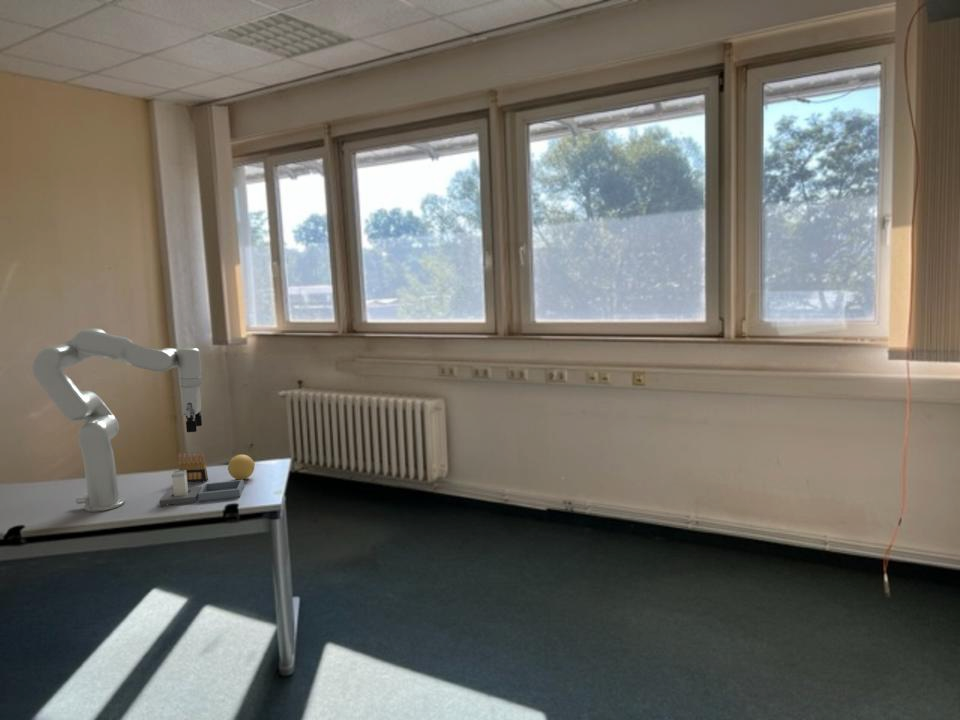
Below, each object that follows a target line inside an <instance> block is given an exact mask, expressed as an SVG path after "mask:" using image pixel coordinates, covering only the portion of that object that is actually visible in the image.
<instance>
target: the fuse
mask: <svg viewBox="0 0 960 720" xmlns="http://www.w3.org/2000/svg"><path fill="white" fill-rule="evenodd" d="M186 473H187V472H186V470H182V471H179V470H174V471H173V472H172V474H171V478H172V480H171V481H172V488H173V489H172V490H174V496H182V495H188V494H189V493H188V488H189V486H188V483H187V474H186Z"/></svg>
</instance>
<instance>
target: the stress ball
mask: <svg viewBox="0 0 960 720" xmlns="http://www.w3.org/2000/svg"><path fill="white" fill-rule="evenodd" d="M227 471H228V473H229V475H230V476H231V477H232V478H233V479H234V480H235V479H236V480H243V479H245V480H246V479H248V478H249V477H251V476H252V474H253V472H254V471H255V460H253V459H252V457H250V455H248V454H237V455H235V456H234V457H232V458H231V459H230V460H229V462H228V464H227Z"/></svg>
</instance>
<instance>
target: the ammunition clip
mask: <svg viewBox="0 0 960 720" xmlns="http://www.w3.org/2000/svg"><path fill="white" fill-rule="evenodd" d="M181 454H182V453H181V452H178V471H182V470H186V472H187V473H186V474H187V483H204V482H203V481H206V482H208V481H209V476H208V471H207V466H206V460H205V455H204V452H203V451H201V453H200V454H199V452H198V451H197V452H196V455H195V452H192V453H191V454H192V455H191V454H190V452H188V453H187V456H186V453H185V452H183V454H182V455H181ZM207 480H208V481H207Z"/></svg>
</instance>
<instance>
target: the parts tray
mask: <svg viewBox="0 0 960 720" xmlns="http://www.w3.org/2000/svg"><path fill="white" fill-rule="evenodd" d="M201 487H202V488H201V490H200V492H199V493H198V502H199V503H200V501H202V502H208V500H211V501H217V500H219V499H220V500H226V499H228V498H229V499H235V498H236V497H238V498H241V496H242V494H243V492H242V491H244V489H245V480H239V479H236V480H235V479H234V480H227V481H218V482H205V483H204V484H203V485H202V486H201ZM241 493H242V494H241ZM220 500H219V501H220Z"/></svg>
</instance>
